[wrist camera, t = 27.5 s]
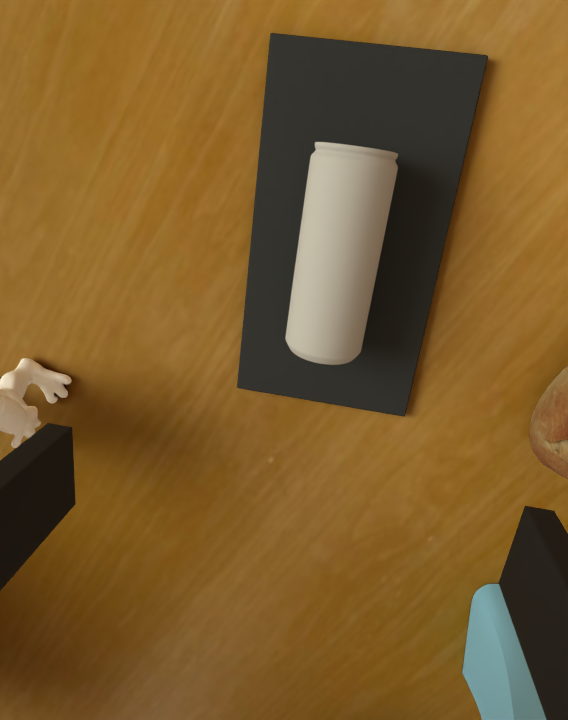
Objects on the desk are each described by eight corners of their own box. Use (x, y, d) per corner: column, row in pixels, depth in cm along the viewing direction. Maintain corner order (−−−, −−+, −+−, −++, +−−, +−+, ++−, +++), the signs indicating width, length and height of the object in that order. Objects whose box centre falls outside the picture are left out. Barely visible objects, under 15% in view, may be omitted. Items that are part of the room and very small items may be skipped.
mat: (404, 413, 35) (404, 416, 35) (238, 384, 36) (236, 388, 36) (486, 57, 27) (488, 55, 27) (272, 35, 29) (270, 32, 28)
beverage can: (340, 374, 28) (382, 148, 24) (269, 350, 31) (296, 138, 26) (370, 354, 32) (412, 156, 28) (305, 334, 35) (335, 147, 30)
